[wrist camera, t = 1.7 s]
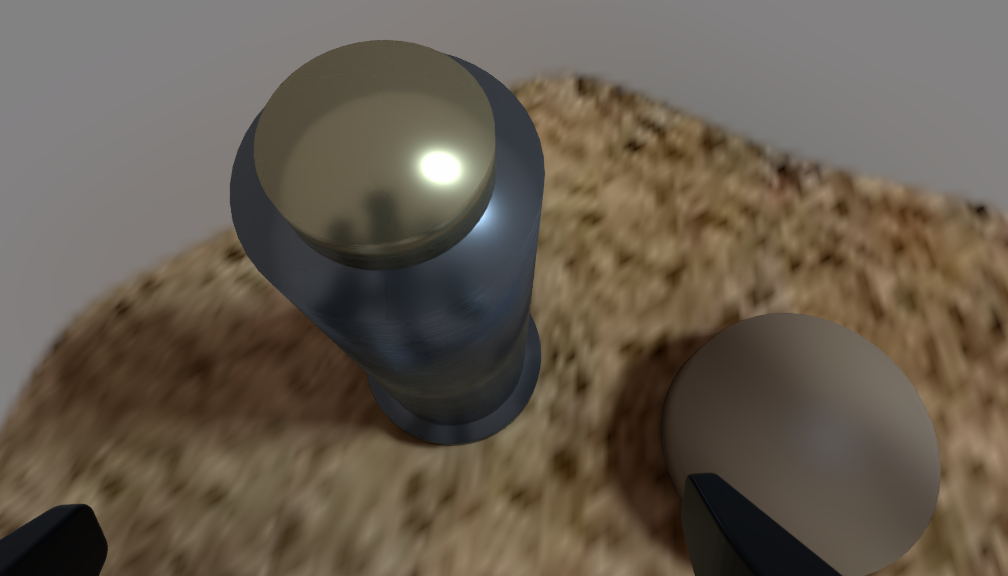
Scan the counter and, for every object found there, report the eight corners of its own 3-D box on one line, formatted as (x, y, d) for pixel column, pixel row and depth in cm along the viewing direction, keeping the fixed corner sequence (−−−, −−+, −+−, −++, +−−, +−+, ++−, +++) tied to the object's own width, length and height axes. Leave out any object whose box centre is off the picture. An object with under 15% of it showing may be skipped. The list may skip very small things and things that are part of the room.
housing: (464, 483, 20) (382, 444, 7) (335, 370, 22) (67, 161, 8) (573, 346, 22) (672, 107, 9) (447, 249, 23) (370, -79, 10)
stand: (829, 631, 18) (865, 646, 17) (614, 459, 20) (625, 454, 18) (940, 425, 21) (983, 416, 19) (738, 287, 23) (759, 268, 21)
